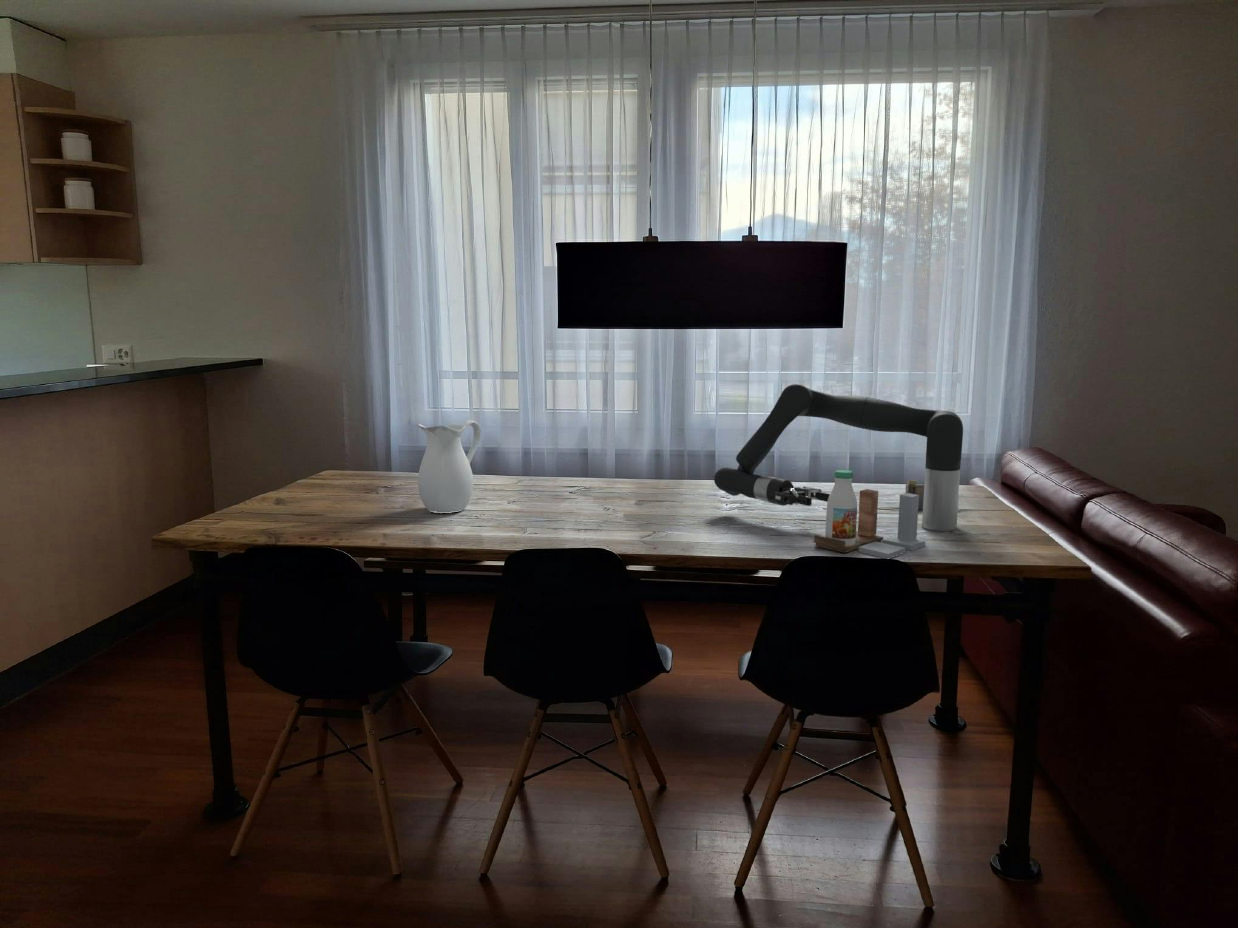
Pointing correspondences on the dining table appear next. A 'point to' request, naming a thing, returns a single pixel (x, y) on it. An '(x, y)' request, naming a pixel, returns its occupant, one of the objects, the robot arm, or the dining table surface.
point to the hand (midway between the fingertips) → (820, 499)
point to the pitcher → (447, 467)
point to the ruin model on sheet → (916, 490)
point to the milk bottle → (842, 509)
